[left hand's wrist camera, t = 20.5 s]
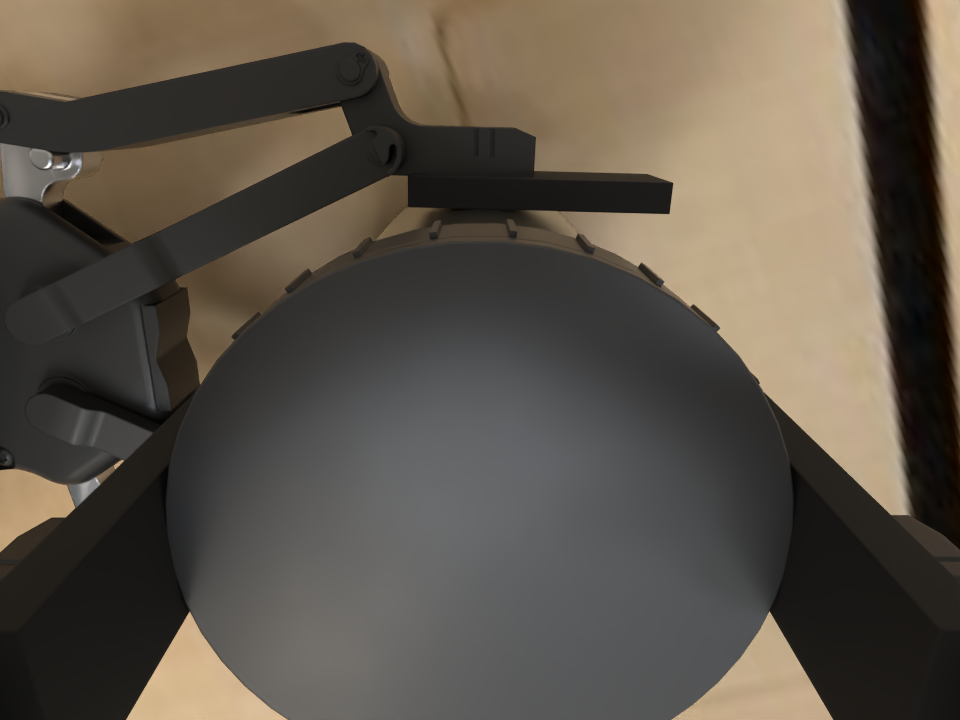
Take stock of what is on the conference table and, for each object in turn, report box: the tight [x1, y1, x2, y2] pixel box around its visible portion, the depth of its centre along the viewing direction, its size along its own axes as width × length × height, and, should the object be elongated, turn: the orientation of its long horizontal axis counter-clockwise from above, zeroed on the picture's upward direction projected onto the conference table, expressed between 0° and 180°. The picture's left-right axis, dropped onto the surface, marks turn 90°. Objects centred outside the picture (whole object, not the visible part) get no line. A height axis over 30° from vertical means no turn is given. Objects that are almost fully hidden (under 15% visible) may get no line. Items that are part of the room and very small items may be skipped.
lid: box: [165, 219, 794, 720], centre depth 11 cm, size 10×10×2 cm
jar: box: [375, 207, 578, 241], centre depth 18 cm, size 9×9×15 cm
